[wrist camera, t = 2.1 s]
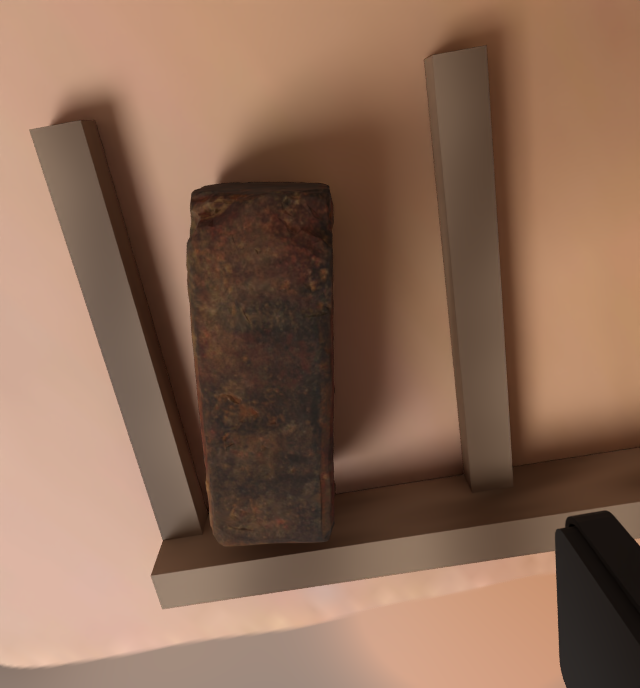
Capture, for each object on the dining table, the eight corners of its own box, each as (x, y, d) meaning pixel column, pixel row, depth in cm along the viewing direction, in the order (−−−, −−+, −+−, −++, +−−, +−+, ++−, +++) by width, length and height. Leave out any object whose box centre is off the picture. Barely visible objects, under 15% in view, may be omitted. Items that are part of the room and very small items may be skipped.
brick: (332, 466, 22) (338, 549, 18) (227, 468, 22) (208, 553, 18) (330, 178, 19) (337, 193, 14) (204, 180, 19) (173, 196, 14)
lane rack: (875, -24, 17) (990, -54, 14) (806, 455, 22) (878, 502, 19) (46, 129, 18) (-3, 130, 15) (179, 550, 23) (161, 609, 20)
